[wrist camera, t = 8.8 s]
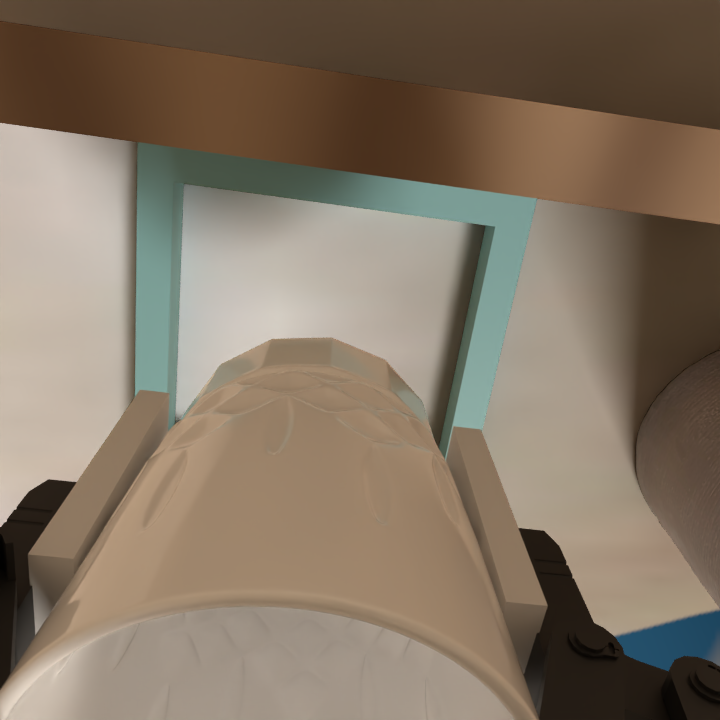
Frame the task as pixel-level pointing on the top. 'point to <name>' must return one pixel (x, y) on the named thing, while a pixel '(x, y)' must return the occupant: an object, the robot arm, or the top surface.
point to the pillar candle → (686, 466)
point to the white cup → (282, 566)
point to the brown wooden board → (355, 123)
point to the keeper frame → (184, 166)
